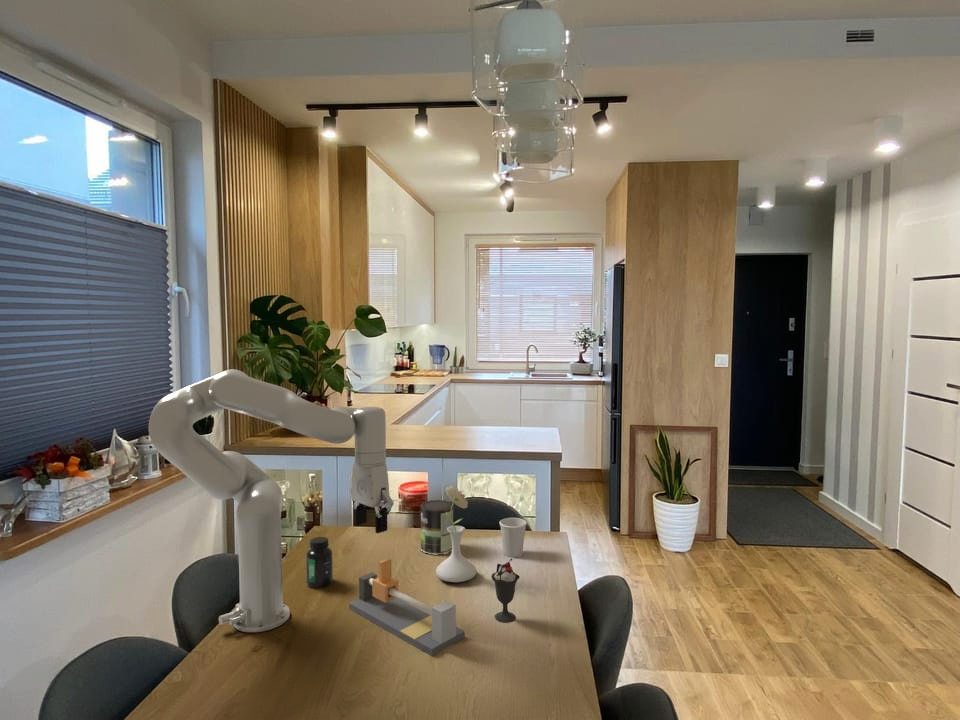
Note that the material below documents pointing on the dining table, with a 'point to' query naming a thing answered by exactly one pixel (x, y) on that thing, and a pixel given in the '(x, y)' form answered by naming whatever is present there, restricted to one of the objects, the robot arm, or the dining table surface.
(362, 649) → the dining table surface
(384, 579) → the orange l-shaped block
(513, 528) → the dixie cup
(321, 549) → the supplement bottle
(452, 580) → the flower in vase
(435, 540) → the coffee can
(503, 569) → the sundae
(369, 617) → the grey slider rail toy
